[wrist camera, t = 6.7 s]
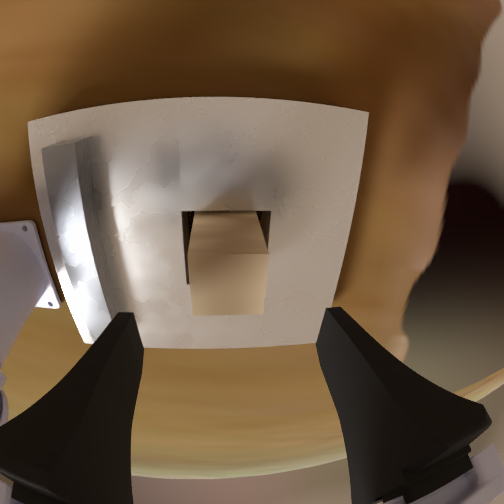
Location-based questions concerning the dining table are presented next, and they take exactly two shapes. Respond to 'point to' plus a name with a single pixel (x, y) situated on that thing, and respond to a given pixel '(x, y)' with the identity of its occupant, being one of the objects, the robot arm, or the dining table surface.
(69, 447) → the robot arm
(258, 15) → the dining table surface
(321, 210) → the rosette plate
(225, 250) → the peg
